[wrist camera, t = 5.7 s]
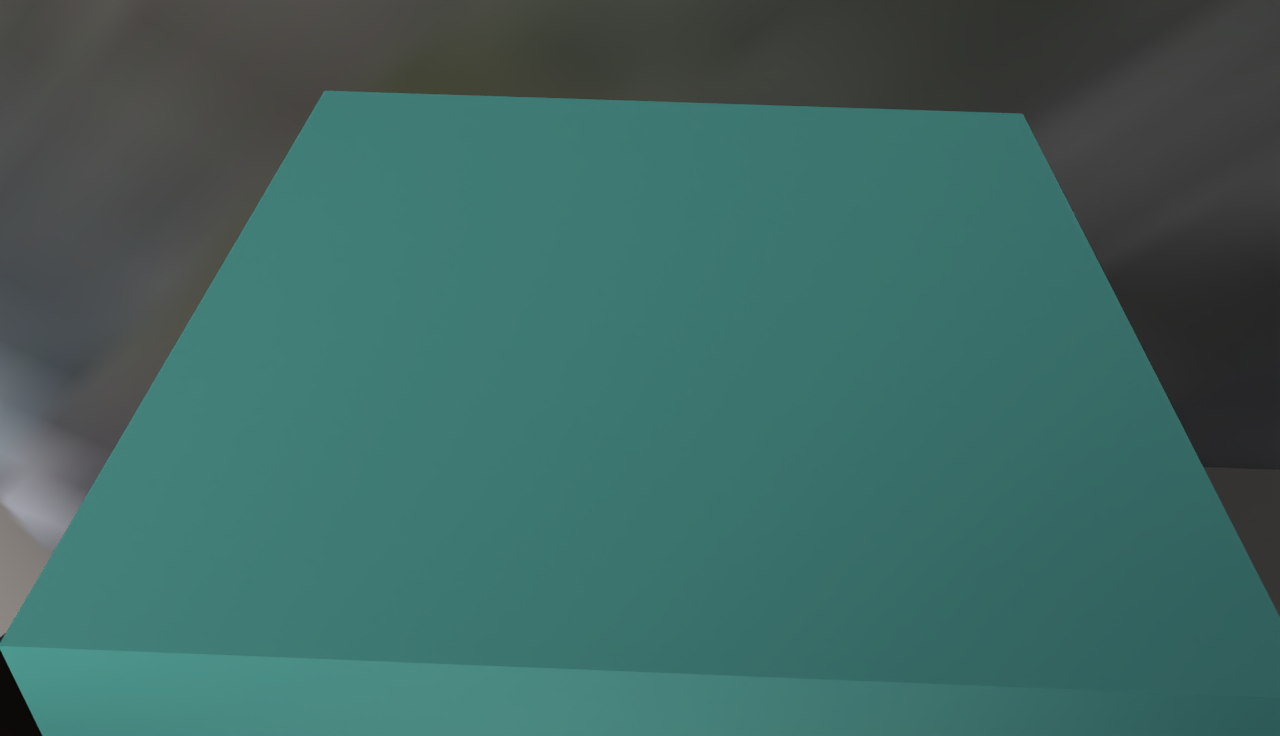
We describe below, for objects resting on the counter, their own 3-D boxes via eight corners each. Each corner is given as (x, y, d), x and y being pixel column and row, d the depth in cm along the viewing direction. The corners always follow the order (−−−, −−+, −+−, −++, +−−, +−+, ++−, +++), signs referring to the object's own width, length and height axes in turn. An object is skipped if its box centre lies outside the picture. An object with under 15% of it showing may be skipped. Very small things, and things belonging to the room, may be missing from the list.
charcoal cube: (1292, 468, 23) (1414, 674, 19) (1212, 631, 26) (1303, 838, 22) (1039, 457, 23) (1109, 661, 19) (988, 622, 26) (1040, 827, 22)
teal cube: (1023, 113, 8) (1322, 697, 4) (909, 587, 11) (1027, 1186, 7) (324, 91, 8) (-3, 645, 4) (398, 567, 11) (244, 1149, 8)
